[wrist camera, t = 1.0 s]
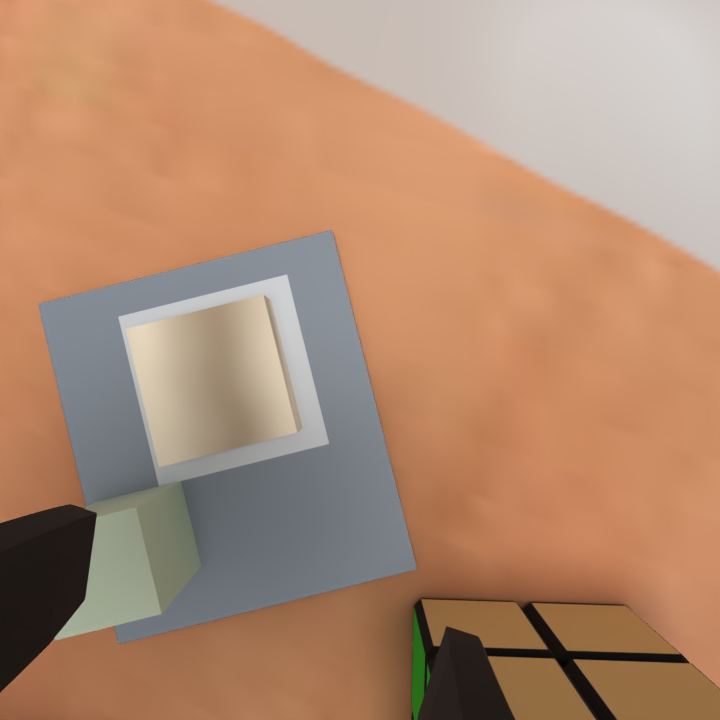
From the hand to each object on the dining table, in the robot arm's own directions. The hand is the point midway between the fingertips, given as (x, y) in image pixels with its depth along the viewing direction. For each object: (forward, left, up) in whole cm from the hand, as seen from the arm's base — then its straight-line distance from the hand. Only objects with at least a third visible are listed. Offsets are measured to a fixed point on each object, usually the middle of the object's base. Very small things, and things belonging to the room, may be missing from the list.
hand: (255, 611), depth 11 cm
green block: (-8, -1, -15) cm, 17 cm away
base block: (-3, +5, -15) cm, 16 cm away
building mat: (-4, +3, -15) cm, 16 cm away
